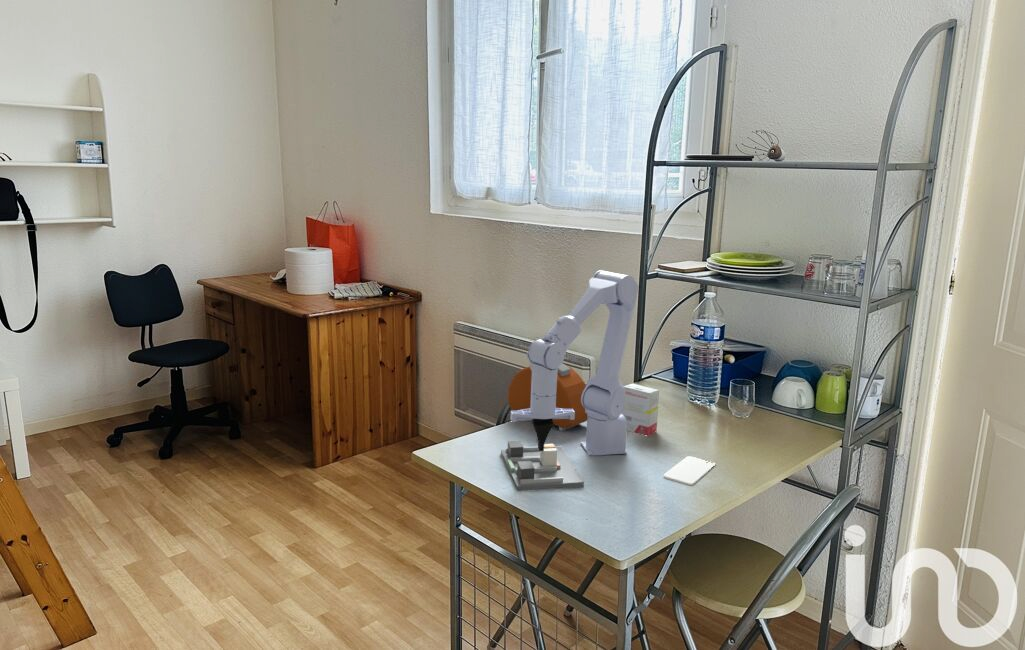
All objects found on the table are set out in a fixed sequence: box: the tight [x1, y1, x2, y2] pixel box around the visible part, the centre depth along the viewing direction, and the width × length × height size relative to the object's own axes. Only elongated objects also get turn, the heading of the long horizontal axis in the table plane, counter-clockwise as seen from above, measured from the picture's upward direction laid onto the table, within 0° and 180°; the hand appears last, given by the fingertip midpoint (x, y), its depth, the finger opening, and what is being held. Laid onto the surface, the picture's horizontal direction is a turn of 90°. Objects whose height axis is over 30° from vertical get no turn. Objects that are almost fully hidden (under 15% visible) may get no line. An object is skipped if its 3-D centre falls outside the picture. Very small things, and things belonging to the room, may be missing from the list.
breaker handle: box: [540, 443, 557, 467], centre depth 174 cm, size 3×4×4 cm
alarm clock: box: [507, 362, 587, 431], centre depth 205 cm, size 23×9×17 cm, turn 46°
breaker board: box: [500, 440, 585, 492], centre depth 174 cm, size 15×20×4 cm
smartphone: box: [663, 455, 716, 486], centre depth 177 cm, size 7×1×15 cm
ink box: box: [622, 383, 660, 437], centre depth 199 cm, size 9×5×12 cm, turn 51°
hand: (541, 449), depth 174 cm, fingers closed, pressing on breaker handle
